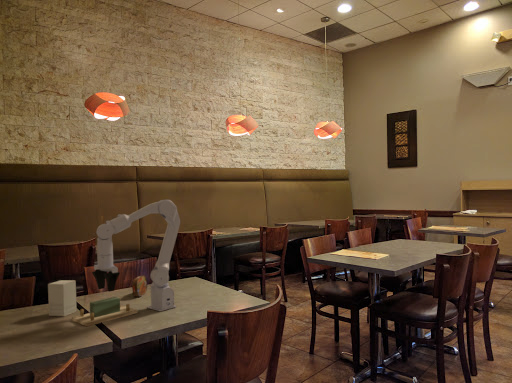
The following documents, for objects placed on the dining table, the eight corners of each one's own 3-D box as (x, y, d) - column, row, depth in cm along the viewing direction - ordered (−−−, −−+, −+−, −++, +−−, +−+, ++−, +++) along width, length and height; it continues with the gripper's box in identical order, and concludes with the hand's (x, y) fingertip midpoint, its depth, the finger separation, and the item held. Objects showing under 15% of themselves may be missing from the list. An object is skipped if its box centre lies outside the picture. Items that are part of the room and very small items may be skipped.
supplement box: (77, 311, 158) (76, 280, 159) (63, 316, 151) (62, 284, 152) (62, 310, 160) (61, 279, 161) (48, 315, 153) (47, 283, 154)
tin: (138, 298, 177) (137, 279, 177) (131, 298, 177) (130, 280, 177) (148, 290, 192) (147, 273, 192) (141, 291, 192) (141, 273, 192)
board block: (120, 311, 152) (119, 298, 152) (95, 317, 144) (94, 303, 144) (114, 309, 154) (114, 296, 155) (90, 315, 147) (89, 302, 147)
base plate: (137, 312, 153) (137, 303, 153) (86, 326, 138) (86, 315, 138) (121, 308, 161) (121, 299, 161) (72, 320, 146) (71, 310, 146)
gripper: (86, 255, 154) (87, 289, 154) (104, 257, 145) (106, 294, 144) (103, 252, 160) (104, 286, 159) (122, 254, 150) (123, 290, 150)
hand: (106, 289), depth 152 cm, fingers open, 7 cm apart
